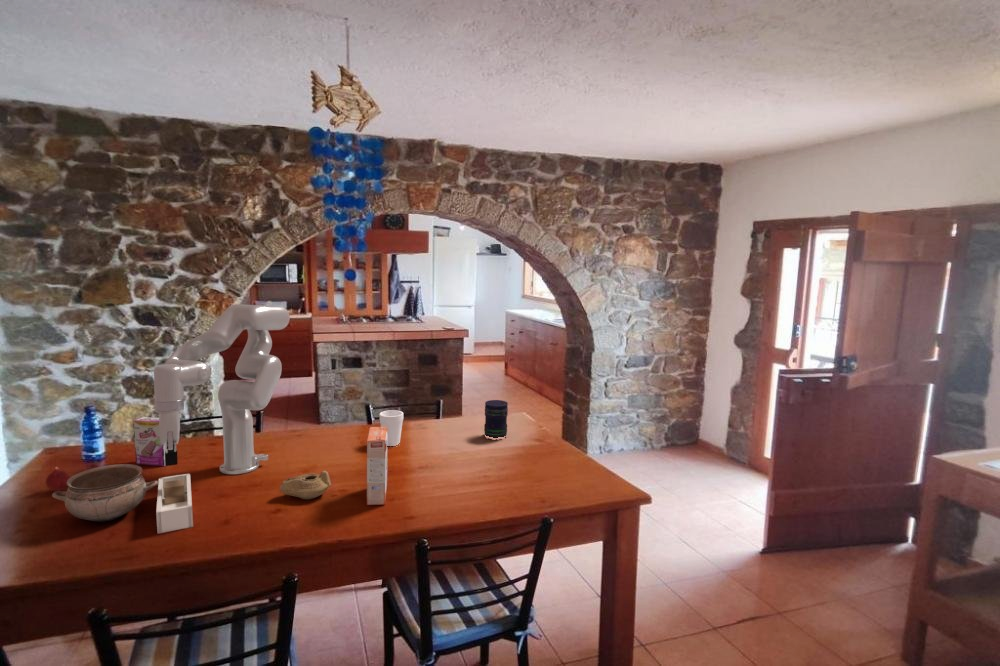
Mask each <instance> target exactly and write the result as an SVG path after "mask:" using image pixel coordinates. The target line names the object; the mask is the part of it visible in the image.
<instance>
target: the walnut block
mask: <svg viewBox="0 0 1000 666" xmlns="http://www.w3.org/2000/svg"><path fill="white" fill-rule="evenodd" d="M164 496H165V505H167V504H173V503H179V502H184V501H185V490H184V479H181V480H175V481H168V482H164Z"/></svg>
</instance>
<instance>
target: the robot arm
mask: <svg viewBox="0 0 1000 666" xmlns="http://www.w3.org/2000/svg"><path fill="white" fill-rule="evenodd" d="M290 320H291V319H290V312H289V311H288V310H287V308H285V307H284V306H279V305H278V306H277V305H264V304H244V303H242V304H239V303H238V304H236V303H235V304H231V305H229V306H228V307H227V308H226V309H225V310H223V312H222V314H221V315H220V316H219V317H218V318H217V319H216V320H215V321H214V322H213V324H212V325H211V326H210V327H209V328H208V330H206V331H204V333H202V334H199V335H198V336H196V337H194V338H192V339H191V340H188V341H187V342H185V343H183V344H182V345H180V346H179V347H178V348H177V349H175V350H174V352H173V353H172V354H171V355H170V356H169V357H168V358H167V360H166V361H165V362H164V363H163V364H158V365H157V366H155V367H154V369H153V387H154V389H153V391H154V393H153V394H154V412H155V413H158V414H159V415H158V418H159V438H160V446H162V445H164V444H165V446H166V452H165V466H164V467H169V466H177V465H178V449H177V445H178V444H179V441H180V430H181V412H182V411H184V410H185V391H184V390H185V389H184V388H185V387H190V386H191V387H192V386H193V387H194V386H200V385H203V384H205V383H207V382H208V381H209V380H210V378H211V375H212V370H211V367H210V366H209V365H208V364H207V363H205V362H203V361H199V360H200V359H201V358H203V357H206V356H209V355H213V354H217V353H220V352H224V351H226V350H227V349H229V348H230V347H231V346H232V345H233V343H234V342H235V341H236V339H238V337H239V336H240V335H241V334H242V333H243V331H244V330H247V341H246V343H245V346H244V348H243V350H242V352H241V354H240V356H239V358H238V360H237V363H236V365H235V370H234V371H235V374H236V376H237V377H238V378H241V379H244V380H240V379H239V380H238V379H231V380H227V381H225V382H223V383H222V384H221V385H220V387H219V389H218V391H217V398H218V403H219V407H220V410H221V417H222V436H223V438H222V439H223V441H222V442H223V462H224V463H222V464H220V466H219V472H221V473H222V474H226V475H241V474H247V473H250V472H253V471H255V470H256V469H258V468H259V467H260V461H269V454H264V453H259V454H258V453H257V454H256V453H255V451H254V450H255V447H254V426H253V424H254V422H253V421H254V420H253V415H252V412H251V411H261V410H263V409H265V408H266V407H267V406H268V404H269V403H270V401H271V399H272V397H273V394H274V392H275V390H276V387H277V385H278V383H279V380H280V378H281V376H282V371H283V370H282V368H283V367H282V366H283V365H282V362H281V360H280V358H279V357H278V356H276V355H273V354H270V352H271V350H272V347H273V340H272V337H271V334H270V332H269V331H280V330H281V331H282V330H283V329H285V328H286V327H288V325H289V323H290ZM247 380H248V381H247Z"/></svg>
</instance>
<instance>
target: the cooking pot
mask: <svg viewBox="0 0 1000 666" xmlns="http://www.w3.org/2000/svg"><path fill="white" fill-rule="evenodd" d="M142 473H143V468H142V467H141V466H139V465H138V464H128V463H123V464H122V463H121V464H120V463H119V464H110V465H103V466H98V467H97V466H96V467H93V468H90V469H87V470H84V471H81V472H78V473H76V474H74V475H72V476H71V477H70V478H69V479H68V480H67V483H66V484H67V486H68V488H67V490H66V491H62V490H61V491H57V492H56V491H54V492H53V493H51V496H52V498H54V499H57V500H58V501H62V502H64V505H65V506H64V507H65V508H66V509H67V511H68V513H70V515H72V516H74V517H75V518H78V519H82V520H86V521H90V522H91V521H92V522H98V523H99V522H100V523H106V522H110V521H114V520H117V519H119V518H121V517H122V516H123V515H125V514H127V513H128V512H130V511H131V510H133V509H135V508H136V507H137V506H138V505H140V503H141V502H142V501H143V500H144V498H145V495H146V493H147V491H149V490H151V489H153V488H154V487H155V486H158V483H159V480H153V481H150V482H149V481H148V482H146V481H145V480H146V479H145V478H144V476H143V475H142Z"/></svg>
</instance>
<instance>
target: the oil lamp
mask: <svg viewBox="0 0 1000 666" xmlns="http://www.w3.org/2000/svg"><path fill="white" fill-rule="evenodd" d="M331 485H332V482H331V477H330V476H329V472H328V471H326V470H322V472H321V473H320V474H318V473H306V474H301V475H296V476H292V477H290V478H287V479H285V480H283V481H282V483H281V484H280V487H279V490H280V492H282V493H284V494H285V495H287V496H293V497H297V498H299V499H302V500H313V499H316V498H318V497H320V496H321V495H322V494H323V493H324V492H326V491H327V490H328V489H329V488H330V487H331Z"/></svg>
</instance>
